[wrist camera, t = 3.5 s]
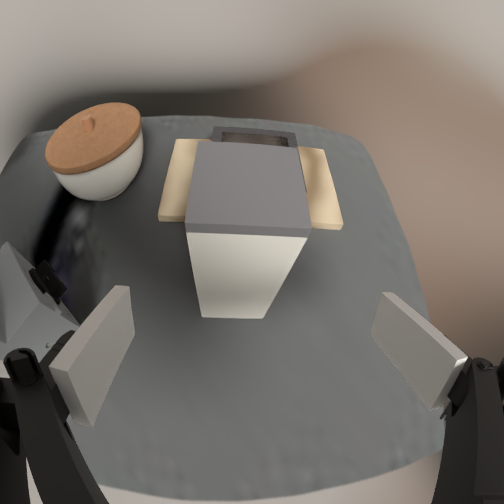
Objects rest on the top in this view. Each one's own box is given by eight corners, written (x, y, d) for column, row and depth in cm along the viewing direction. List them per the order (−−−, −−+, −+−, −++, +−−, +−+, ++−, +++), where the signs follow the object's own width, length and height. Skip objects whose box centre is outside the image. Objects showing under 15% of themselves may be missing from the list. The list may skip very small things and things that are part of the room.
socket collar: (206, 205, 31) (206, 185, 28) (213, 146, 37) (213, 126, 33) (299, 210, 32) (306, 191, 29) (289, 151, 38) (294, 133, 35)
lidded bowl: (54, 205, 30) (21, 148, 21) (101, 146, 37) (85, 89, 27) (120, 229, 30) (90, 162, 20) (167, 159, 36) (159, 93, 26)
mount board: (159, 221, 31) (157, 215, 30) (177, 145, 38) (176, 139, 37) (339, 229, 33) (343, 224, 32) (321, 155, 40) (323, 149, 39)
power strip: (201, 317, 26) (184, 223, 12) (205, 259, 29) (198, 137, 15) (262, 318, 27) (312, 229, 13) (260, 261, 30) (296, 144, 16)
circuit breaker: (110, 327, 24) (26, 258, 11) (37, 413, 18) (-65, 400, 5) (71, 281, 26) (-3, 198, 13) (5, 362, 20) (-86, 322, 7)
